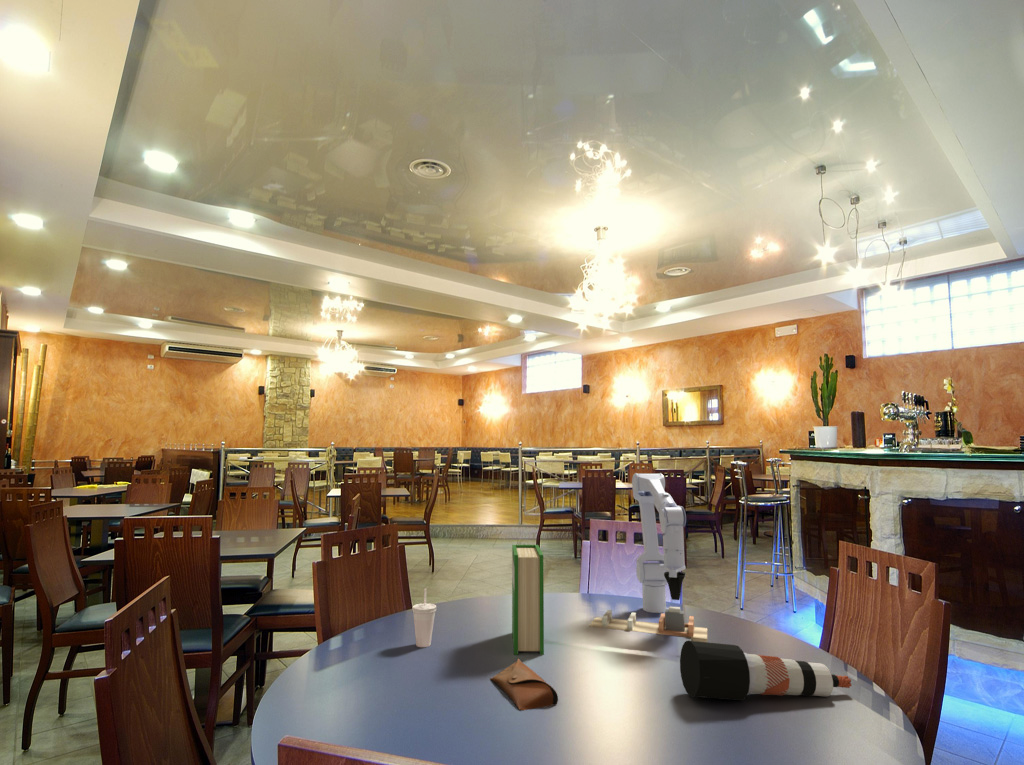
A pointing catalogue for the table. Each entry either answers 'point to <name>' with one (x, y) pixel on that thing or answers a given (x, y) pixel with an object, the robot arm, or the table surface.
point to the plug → (674, 619)
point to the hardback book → (527, 599)
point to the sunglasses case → (525, 687)
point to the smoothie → (424, 622)
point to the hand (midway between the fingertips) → (675, 599)
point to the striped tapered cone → (750, 673)
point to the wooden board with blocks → (649, 626)
